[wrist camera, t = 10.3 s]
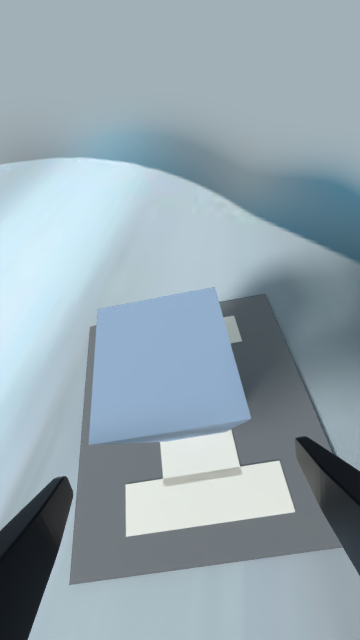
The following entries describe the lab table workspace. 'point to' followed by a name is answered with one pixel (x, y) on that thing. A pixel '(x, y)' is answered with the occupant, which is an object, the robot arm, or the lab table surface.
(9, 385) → the lab table surface
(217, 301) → the blue block
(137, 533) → the letter mat
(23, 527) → the robot arm
